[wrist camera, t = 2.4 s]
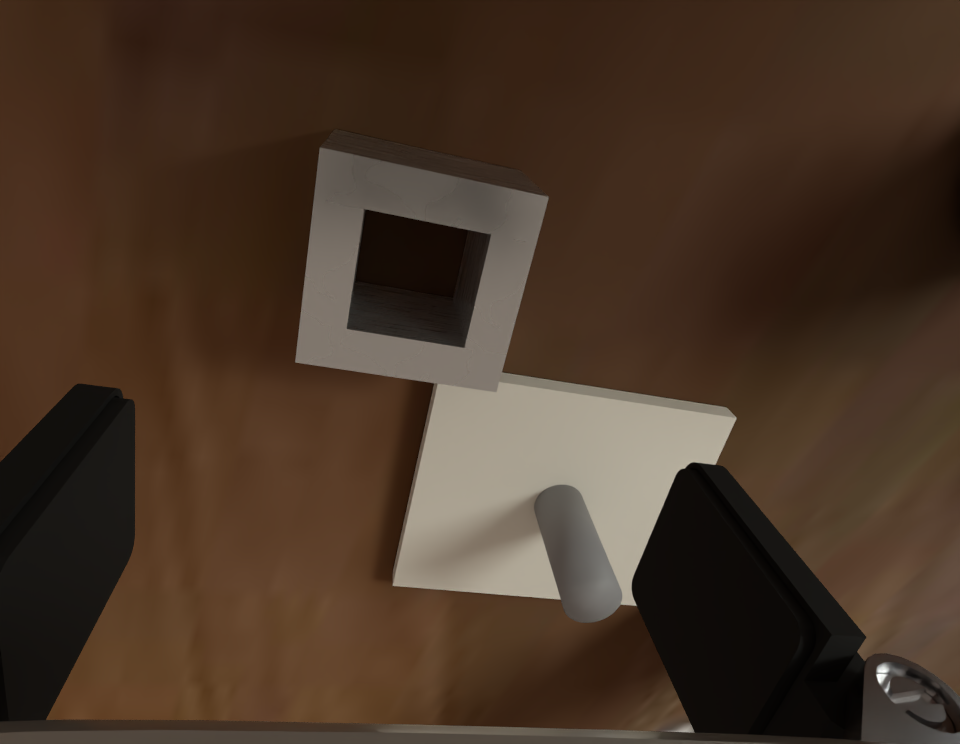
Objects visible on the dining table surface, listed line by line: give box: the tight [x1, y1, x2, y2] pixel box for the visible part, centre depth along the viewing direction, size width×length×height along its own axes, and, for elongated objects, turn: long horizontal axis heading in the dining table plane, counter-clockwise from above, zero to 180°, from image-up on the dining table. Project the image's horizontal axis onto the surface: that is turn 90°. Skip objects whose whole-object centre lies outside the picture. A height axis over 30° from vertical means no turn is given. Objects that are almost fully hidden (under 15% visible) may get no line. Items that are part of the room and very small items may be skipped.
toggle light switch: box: [393, 373, 736, 623], centre depth 28 cm, size 14×12×7 cm
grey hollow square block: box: [295, 129, 549, 392], centre depth 23 cm, size 7×7×5 cm
